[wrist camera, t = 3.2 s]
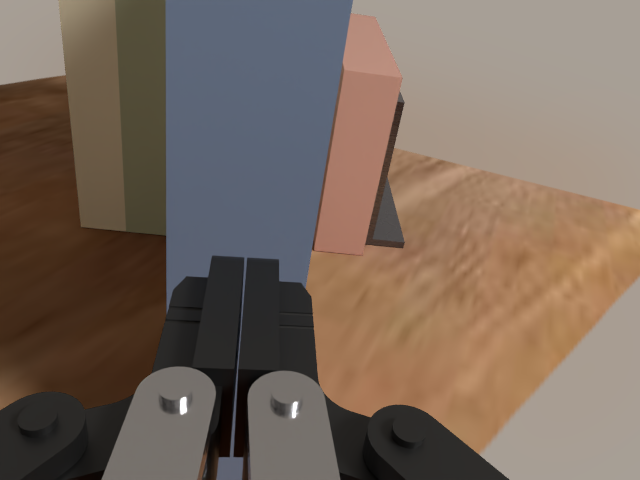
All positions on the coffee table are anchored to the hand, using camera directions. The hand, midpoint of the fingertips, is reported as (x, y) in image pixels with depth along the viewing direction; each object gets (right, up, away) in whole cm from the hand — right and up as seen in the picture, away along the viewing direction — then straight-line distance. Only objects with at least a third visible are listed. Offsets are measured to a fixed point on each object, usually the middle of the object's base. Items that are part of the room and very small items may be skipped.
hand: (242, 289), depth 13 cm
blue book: (-3, -5, +19) cm, 20 cm away
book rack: (-4, +6, +34) cm, 35 cm away
